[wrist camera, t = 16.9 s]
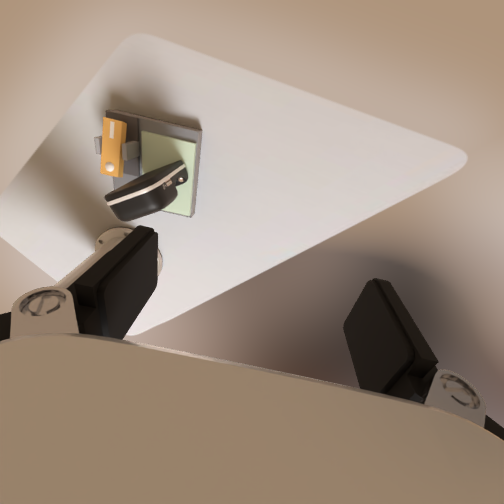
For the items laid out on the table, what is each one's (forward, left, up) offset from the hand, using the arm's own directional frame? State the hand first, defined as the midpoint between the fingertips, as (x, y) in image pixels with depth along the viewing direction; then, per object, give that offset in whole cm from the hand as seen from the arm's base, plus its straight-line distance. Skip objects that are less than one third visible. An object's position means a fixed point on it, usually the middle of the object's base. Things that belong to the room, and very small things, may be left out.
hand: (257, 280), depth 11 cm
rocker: (-3, +21, -25) cm, 33 cm away
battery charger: (-6, +14, -28) cm, 32 cm away
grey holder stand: (-6, +17, -30) cm, 35 cm away
